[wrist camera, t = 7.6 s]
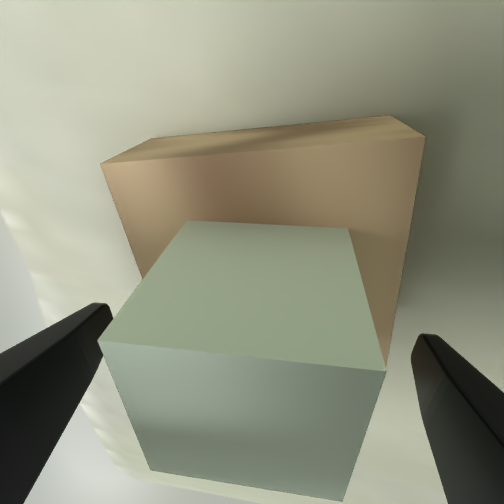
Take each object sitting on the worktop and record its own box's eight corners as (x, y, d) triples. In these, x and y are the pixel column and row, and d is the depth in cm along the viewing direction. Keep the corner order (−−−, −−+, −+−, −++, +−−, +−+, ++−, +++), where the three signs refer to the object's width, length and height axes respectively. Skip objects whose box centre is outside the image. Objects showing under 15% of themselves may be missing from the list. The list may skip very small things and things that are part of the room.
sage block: (347, 228, 9) (386, 371, 5) (328, 343, 12) (342, 501, 7) (186, 220, 10) (97, 340, 5) (202, 331, 12) (150, 470, 8)
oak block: (387, 113, 11) (425, 136, 7) (367, 305, 15) (385, 373, 12) (154, 136, 12) (99, 163, 9) (199, 304, 17) (173, 362, 14)
